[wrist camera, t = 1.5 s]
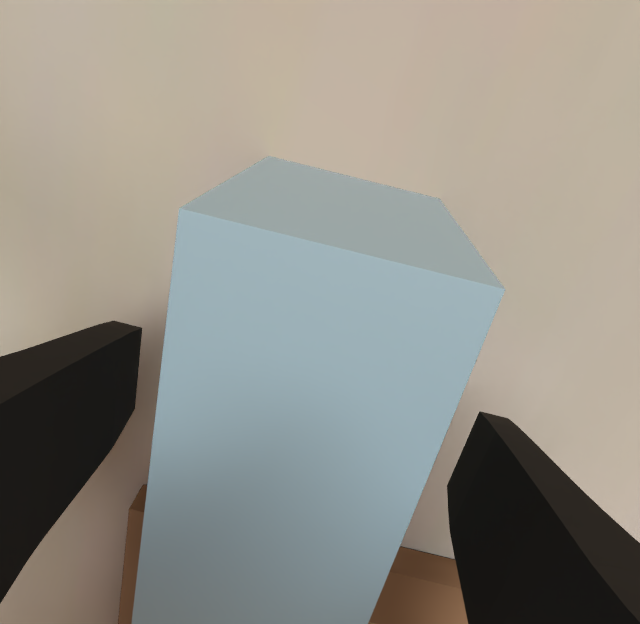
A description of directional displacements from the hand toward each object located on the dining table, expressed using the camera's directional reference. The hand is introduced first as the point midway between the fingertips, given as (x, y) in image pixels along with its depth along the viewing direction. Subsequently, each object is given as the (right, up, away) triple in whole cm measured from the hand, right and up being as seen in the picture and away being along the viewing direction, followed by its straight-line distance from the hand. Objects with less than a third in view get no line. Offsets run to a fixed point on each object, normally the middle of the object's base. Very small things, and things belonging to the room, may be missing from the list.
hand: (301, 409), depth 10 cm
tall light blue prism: (0, +1, +3) cm, 3 cm away
